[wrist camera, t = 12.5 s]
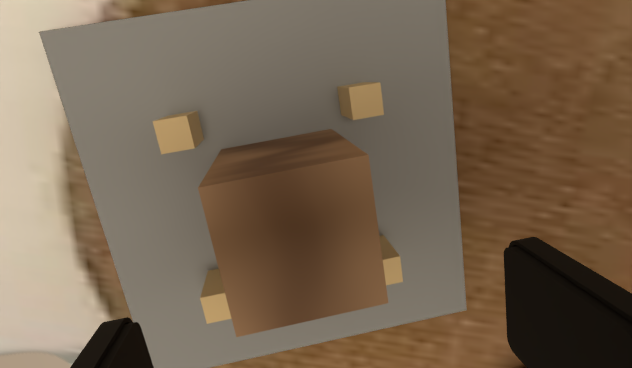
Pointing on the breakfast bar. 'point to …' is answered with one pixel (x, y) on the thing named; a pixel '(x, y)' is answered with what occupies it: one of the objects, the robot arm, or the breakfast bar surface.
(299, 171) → the walnut block
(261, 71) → the base board
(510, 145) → the breakfast bar surface
